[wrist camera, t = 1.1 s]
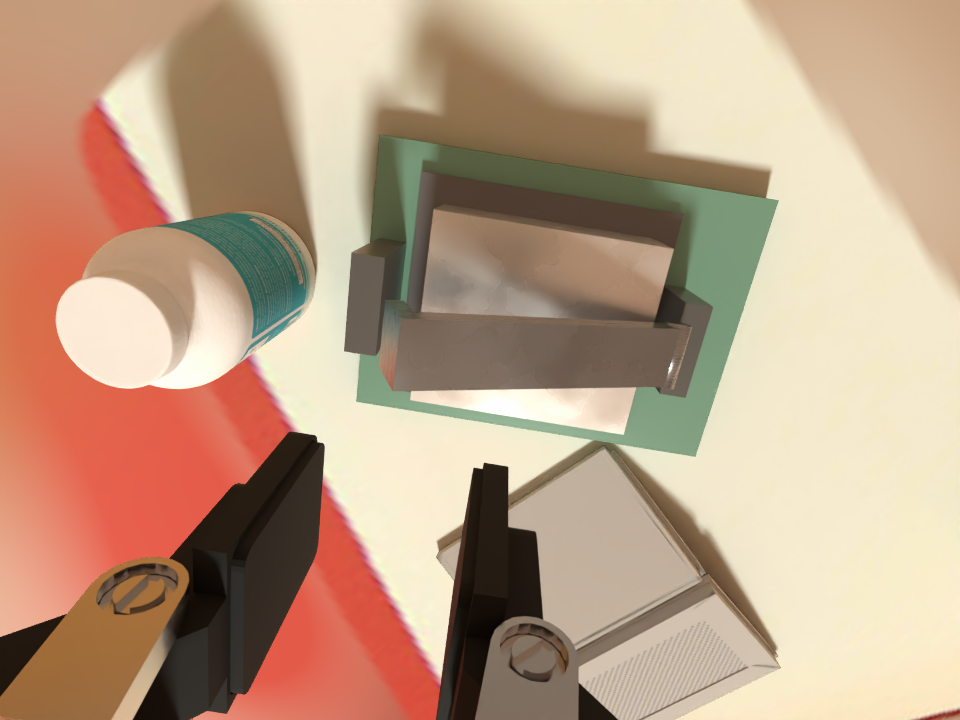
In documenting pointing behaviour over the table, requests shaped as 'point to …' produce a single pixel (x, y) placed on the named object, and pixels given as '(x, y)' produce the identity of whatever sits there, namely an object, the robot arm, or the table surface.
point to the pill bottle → (185, 300)
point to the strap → (525, 351)
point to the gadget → (632, 595)
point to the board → (692, 264)
